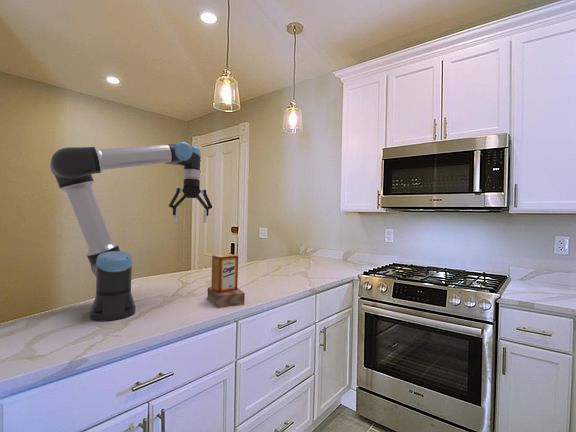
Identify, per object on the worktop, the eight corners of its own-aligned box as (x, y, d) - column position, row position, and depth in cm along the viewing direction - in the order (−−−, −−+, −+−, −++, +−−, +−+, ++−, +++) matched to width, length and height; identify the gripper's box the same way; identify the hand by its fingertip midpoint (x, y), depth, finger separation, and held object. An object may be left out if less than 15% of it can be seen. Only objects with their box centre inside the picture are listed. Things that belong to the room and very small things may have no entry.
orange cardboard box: (219, 293, 132) (220, 256, 132) (211, 290, 136) (212, 254, 136) (237, 289, 138) (238, 254, 138) (229, 286, 143) (230, 253, 143)
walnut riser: (217, 307, 127) (218, 295, 127) (207, 298, 141) (207, 287, 141) (244, 304, 133) (244, 292, 133) (231, 295, 147) (232, 284, 147)
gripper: (214, 181, 157) (213, 222, 157) (163, 177, 144) (162, 222, 144) (219, 180, 150) (218, 223, 150) (165, 176, 138) (164, 222, 138)
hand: (190, 222), depth 147 cm, fingers open, 13 cm apart
